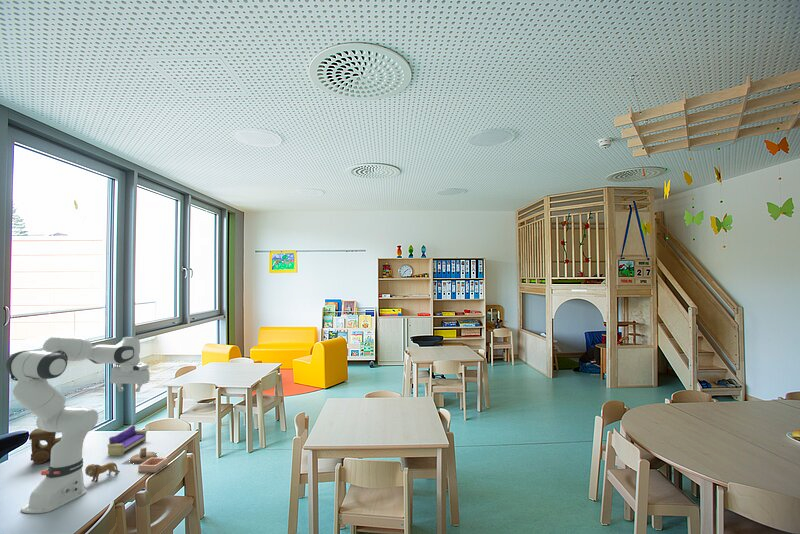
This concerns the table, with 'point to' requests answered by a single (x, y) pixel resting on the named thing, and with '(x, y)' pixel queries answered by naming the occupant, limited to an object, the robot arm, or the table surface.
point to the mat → (132, 463)
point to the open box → (152, 465)
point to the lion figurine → (100, 470)
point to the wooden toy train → (42, 451)
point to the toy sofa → (125, 440)
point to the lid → (142, 456)
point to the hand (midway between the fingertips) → (129, 391)
